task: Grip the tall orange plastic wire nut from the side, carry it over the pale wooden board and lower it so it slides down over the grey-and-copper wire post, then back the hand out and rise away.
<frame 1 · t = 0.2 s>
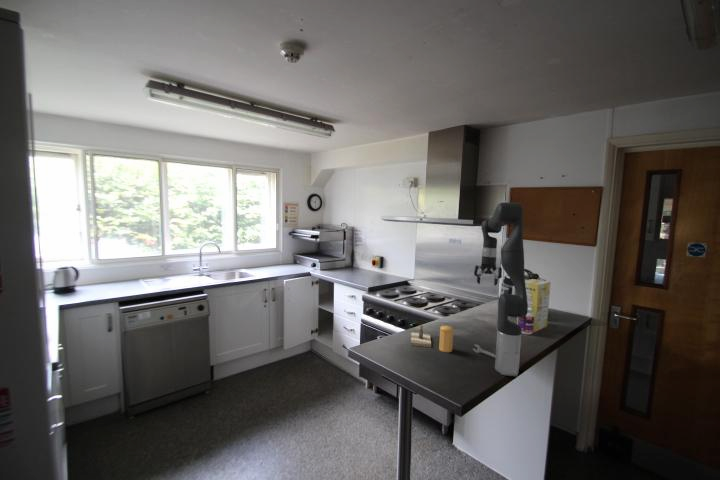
hand: (486, 284, 176), 28 cm above the table, tool pointing down, fingers open, 8 cm apart
pill bottle: (524, 333, 183), on the table
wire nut: (445, 349, 155), on the table
pasta box: (531, 326, 194), on the table
combination wrench: (492, 358, 147), on the table
post board: (420, 340, 165), on the table
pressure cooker: (521, 314, 220), on the table
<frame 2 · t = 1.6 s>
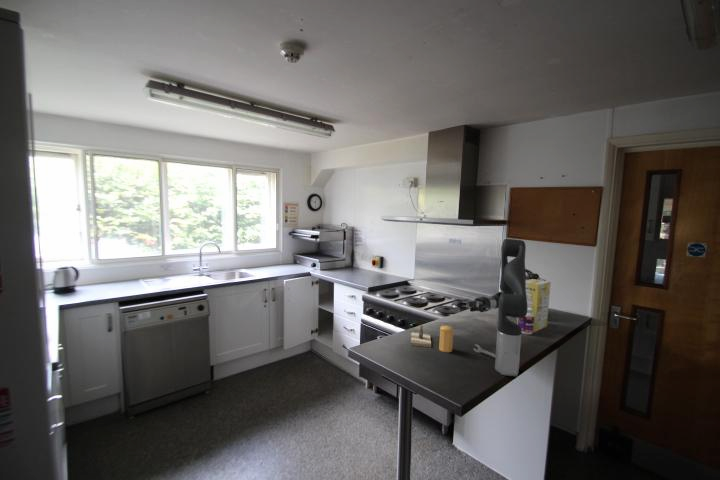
hand: (463, 307, 159), 20 cm above the table, tool horizontal, fingers open, 8 cm apart
nothing on the table moved.
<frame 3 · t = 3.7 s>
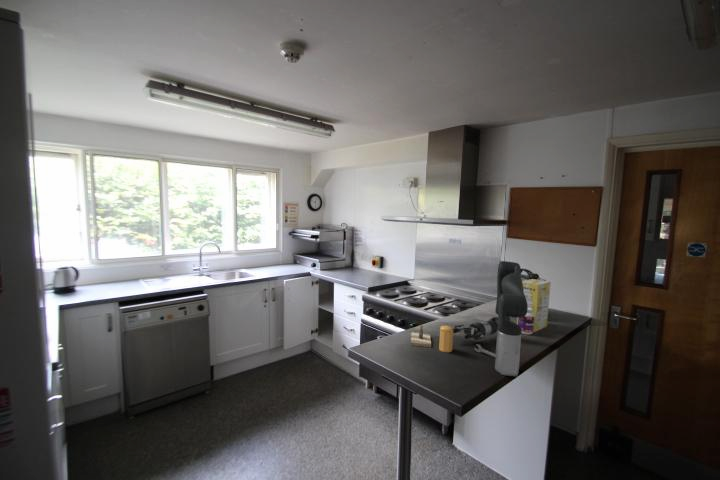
hand: (458, 334, 158), 7 cm above the table, tool horizontal, fingers open, 8 cm apart
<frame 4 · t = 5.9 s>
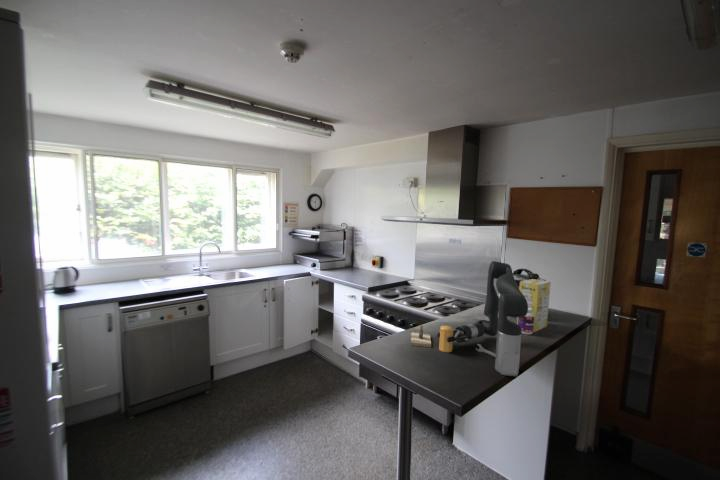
hand: (442, 337, 153), 7 cm above the table, tool horizontal, fingers closed on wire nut, 6 cm apart
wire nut: (445, 349, 155), on the table, touching gripper
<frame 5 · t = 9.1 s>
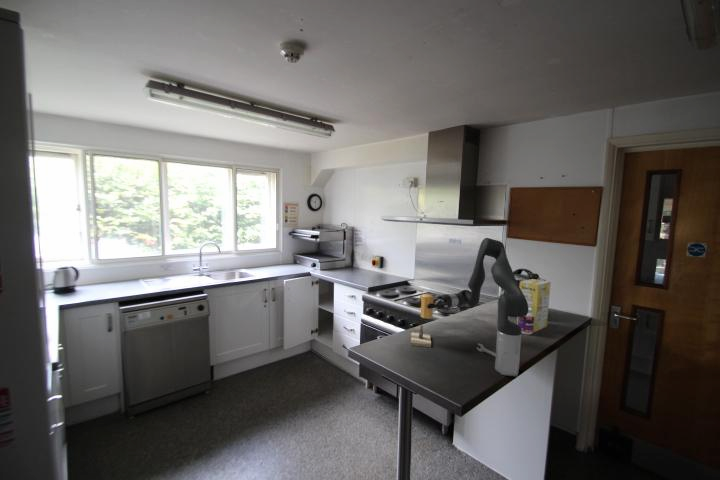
hand: (423, 304, 161), 20 cm above the table, tool horizontal, fingers closed on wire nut, 6 cm apart
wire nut: (426, 316, 163), point 13 cm above the table, touching gripper
when the fingers open (9 cm above the table, at t = 12.5 s): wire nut drops 1 cm, resting on post board.
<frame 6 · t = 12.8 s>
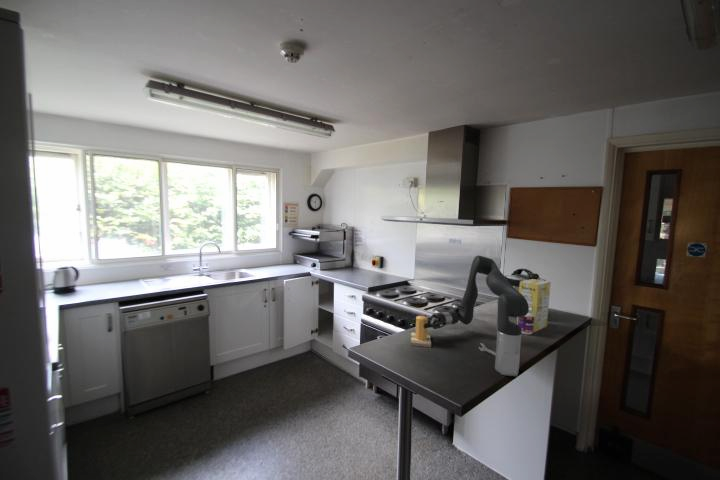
hand: (418, 323, 163), 10 cm above the table, tool horizontal, fingers open, 8 cm apart
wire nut: (420, 338, 165), point 1 cm above the table, touching post board
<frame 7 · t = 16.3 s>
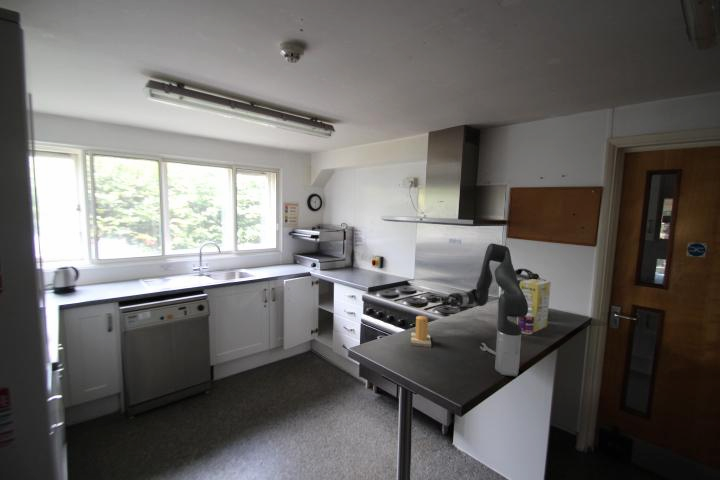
hand: (436, 302, 168), 20 cm above the table, tool horizontal, fingers open, 8 cm apart
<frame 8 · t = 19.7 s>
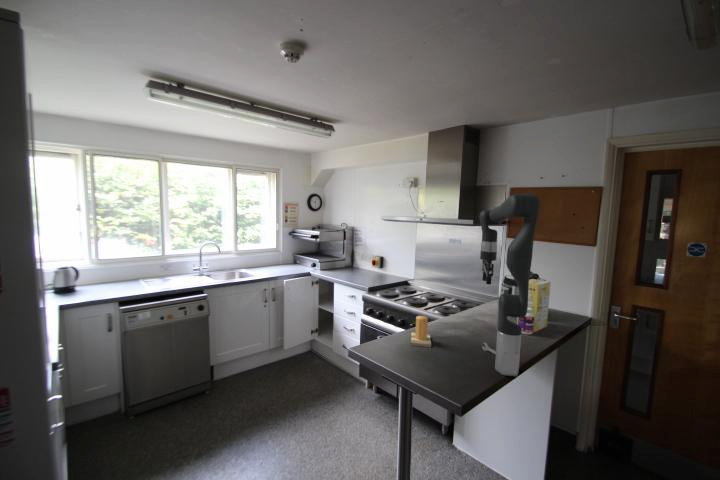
hand: (486, 282, 158), 33 cm above the table, tool pointing down, fingers open, 8 cm apart
at the end: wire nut 0.1 cm from the post board (horizontally); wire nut point 1.5 cm above the table; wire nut tilted 0° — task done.
